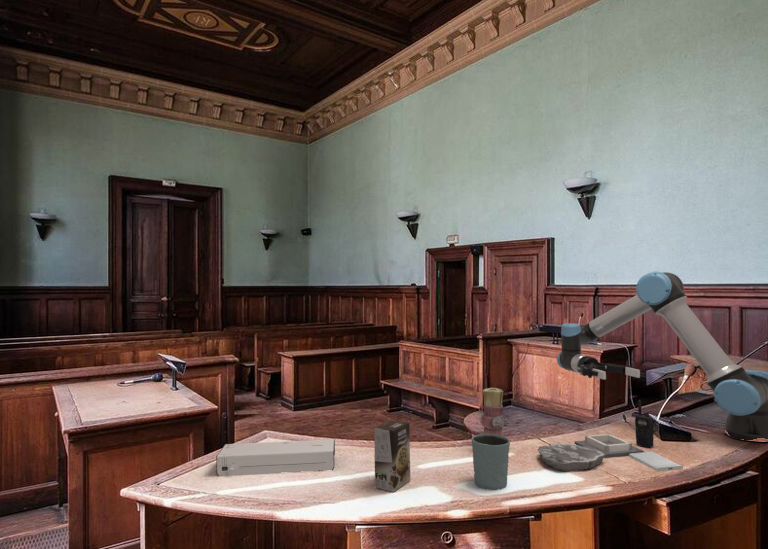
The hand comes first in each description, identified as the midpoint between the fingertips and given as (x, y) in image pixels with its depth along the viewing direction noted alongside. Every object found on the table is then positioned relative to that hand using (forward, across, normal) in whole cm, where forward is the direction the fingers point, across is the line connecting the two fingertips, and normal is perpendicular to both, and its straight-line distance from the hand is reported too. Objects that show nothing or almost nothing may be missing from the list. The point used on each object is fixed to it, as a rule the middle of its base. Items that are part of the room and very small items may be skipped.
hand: (622, 374), depth 171 cm
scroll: (+3, +51, -22) cm, 55 cm away
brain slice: (+17, +33, -22) cm, 43 cm away
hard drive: (+24, +8, -22) cm, 34 cm away
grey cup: (+27, +62, -22) cm, 71 cm away
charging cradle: (+10, +14, -22) cm, 28 cm away
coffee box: (+21, +88, -22) cm, 93 cm away
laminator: (0, +118, -23) cm, 121 cm away
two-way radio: (+10, 0, -22) cm, 24 cm away
